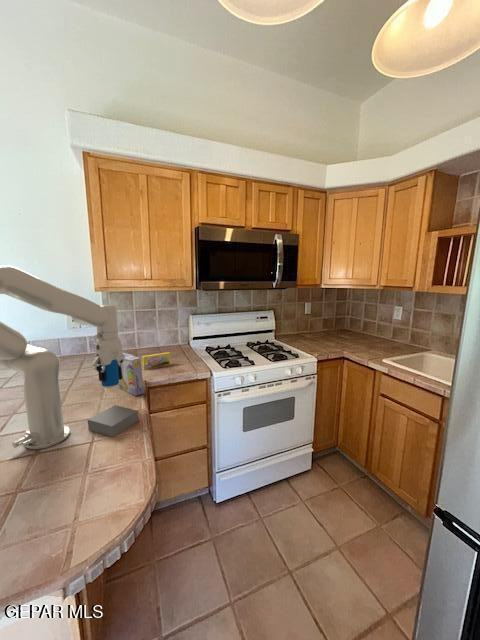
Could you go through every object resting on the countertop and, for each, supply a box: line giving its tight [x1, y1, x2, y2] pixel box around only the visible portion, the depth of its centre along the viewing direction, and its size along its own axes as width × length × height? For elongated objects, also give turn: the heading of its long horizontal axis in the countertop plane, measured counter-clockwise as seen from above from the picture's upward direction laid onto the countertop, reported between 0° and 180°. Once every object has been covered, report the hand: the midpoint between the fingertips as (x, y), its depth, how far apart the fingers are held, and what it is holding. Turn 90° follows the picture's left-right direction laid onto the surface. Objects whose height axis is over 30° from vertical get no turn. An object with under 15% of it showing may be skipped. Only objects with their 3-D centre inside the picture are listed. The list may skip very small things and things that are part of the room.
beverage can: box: [100, 359, 119, 389], centre depth 111 cm, size 6×6×12 cm
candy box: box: [142, 351, 171, 371], centre depth 165 cm, size 16×2×8 cm, turn 123°
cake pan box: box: [117, 352, 145, 397], centre depth 131 cm, size 19×5×18 cm, turn 50°
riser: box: [87, 404, 139, 438], centre depth 100 cm, size 12×12×4 cm
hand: (110, 377), depth 111 cm, fingers closed on beverage can, 6 cm apart
